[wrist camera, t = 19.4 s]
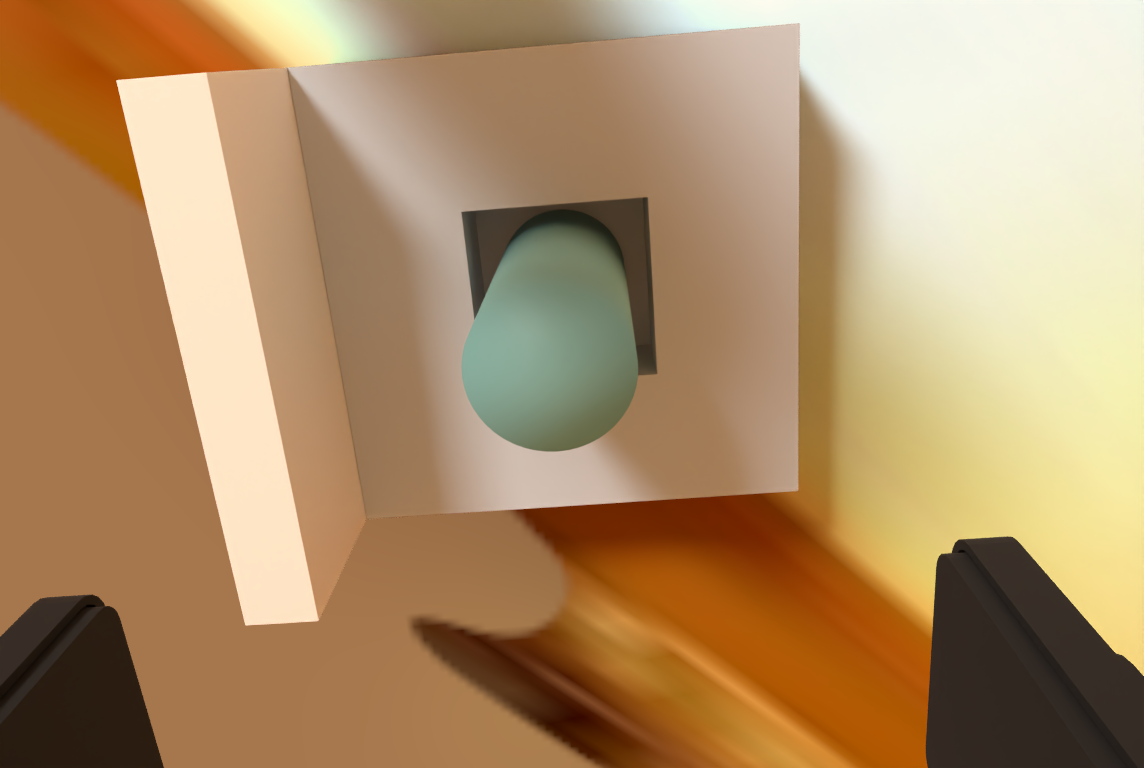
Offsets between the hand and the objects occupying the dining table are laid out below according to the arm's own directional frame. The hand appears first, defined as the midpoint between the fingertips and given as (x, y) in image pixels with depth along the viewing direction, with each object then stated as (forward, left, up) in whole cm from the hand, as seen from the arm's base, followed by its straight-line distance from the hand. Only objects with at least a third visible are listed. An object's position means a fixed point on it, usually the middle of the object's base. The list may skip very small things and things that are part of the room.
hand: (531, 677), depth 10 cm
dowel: (0, 0, -21) cm, 21 cm away
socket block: (0, 0, -22) cm, 22 cm away
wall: (+8, 0, -22) cm, 24 cm away
